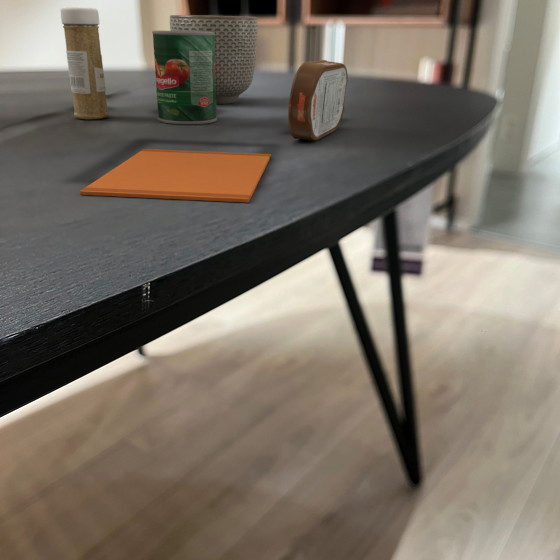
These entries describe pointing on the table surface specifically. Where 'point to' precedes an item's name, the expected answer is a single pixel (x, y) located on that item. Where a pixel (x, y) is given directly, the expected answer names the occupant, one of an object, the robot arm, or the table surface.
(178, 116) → the canned tomato
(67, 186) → the table surface
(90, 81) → the spice jar
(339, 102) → the tin
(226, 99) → the planter
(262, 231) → the table surface
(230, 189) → the orange flat rectangular slab
